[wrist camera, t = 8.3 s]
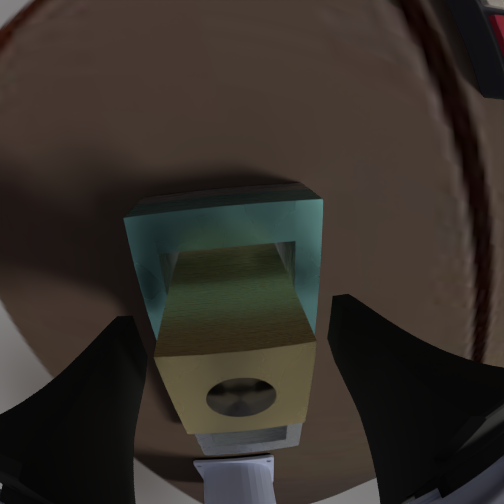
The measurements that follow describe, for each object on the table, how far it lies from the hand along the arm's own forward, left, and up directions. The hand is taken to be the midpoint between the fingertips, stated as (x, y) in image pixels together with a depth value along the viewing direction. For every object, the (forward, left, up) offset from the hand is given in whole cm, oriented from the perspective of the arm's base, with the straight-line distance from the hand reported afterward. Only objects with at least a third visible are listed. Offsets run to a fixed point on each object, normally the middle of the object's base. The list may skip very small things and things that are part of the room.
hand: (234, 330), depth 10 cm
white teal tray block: (-5, 0, -4) cm, 7 cm away
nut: (0, 0, -3) cm, 3 cm away
